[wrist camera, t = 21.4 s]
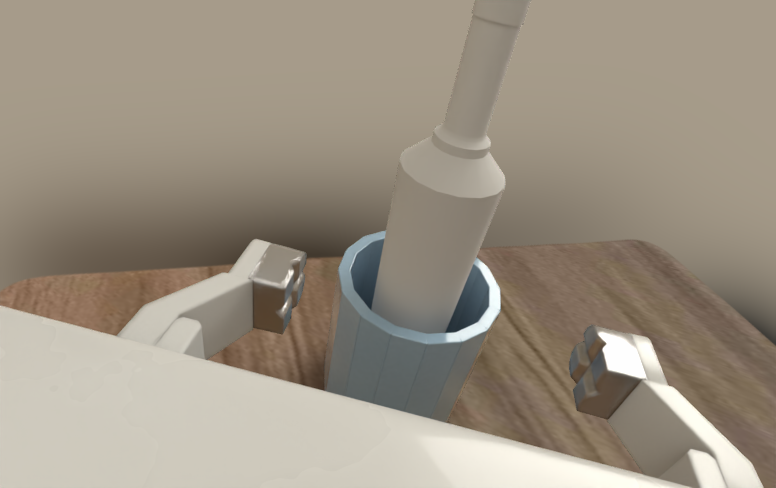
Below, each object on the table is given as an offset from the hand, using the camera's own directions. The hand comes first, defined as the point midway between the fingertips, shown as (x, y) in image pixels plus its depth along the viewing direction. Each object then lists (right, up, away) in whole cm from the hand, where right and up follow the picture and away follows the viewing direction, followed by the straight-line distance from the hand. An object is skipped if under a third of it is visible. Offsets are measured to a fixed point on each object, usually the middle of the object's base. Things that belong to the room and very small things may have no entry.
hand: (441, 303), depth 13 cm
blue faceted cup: (0, -7, +21) cm, 22 cm away
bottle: (-1, -8, +19) cm, 20 cm away
